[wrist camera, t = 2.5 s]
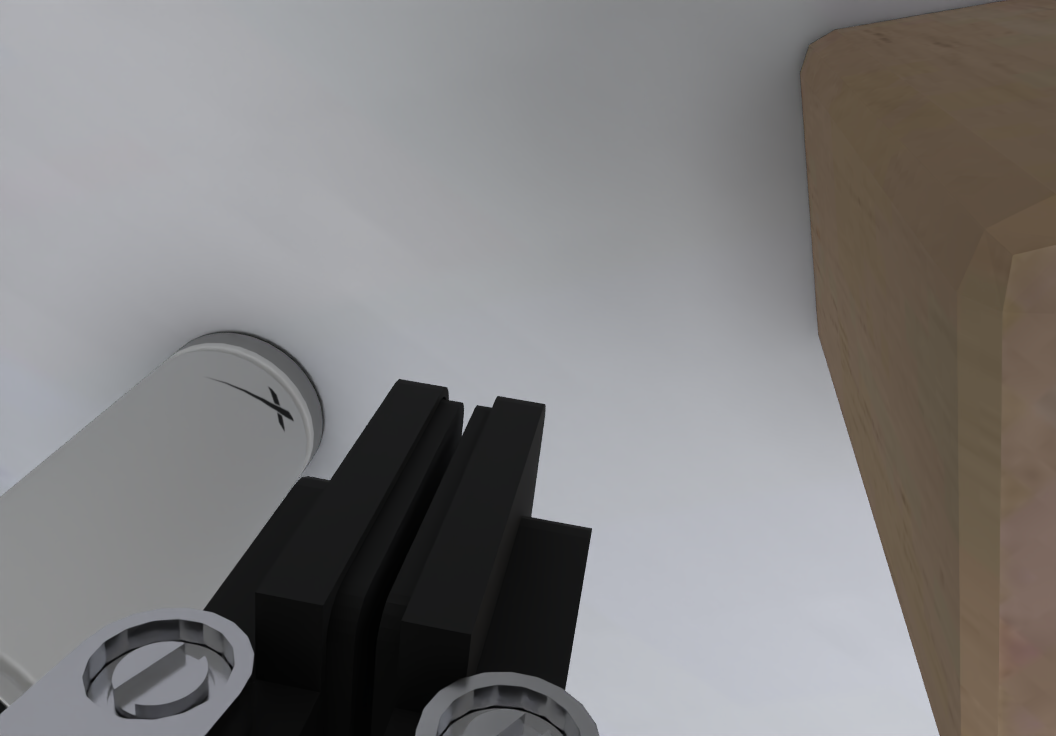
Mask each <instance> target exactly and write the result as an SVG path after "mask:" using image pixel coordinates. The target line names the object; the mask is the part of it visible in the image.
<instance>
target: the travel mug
mask: <svg viewBox="0 0 1056 736" xmlns="http://www.w3.org/2000/svg"><path fill="white" fill-rule="evenodd" d="M322 427H323V418H322V412H321V405H320V403H319V400H318V397H317V394H316V392H315V390H314V388H313V386H312V384H311V383H310V381H309V379H308V378H307V376H306V375H305V373H304V372H303V371H302V370H301V369H300V368H299V366H298V365H297V364H296V363H295V362H294V361H293V360H292V359H290V358H289V357H288V356H287V355H286V354H285V353H283V352H282V351H280V350H279V349H277V348H275V347H274V346H272V345H270V344H269V343H267V342H264V341H262V340H259V339H256V338H254V337H251V336H247V335H242V334H237V333H215V334H210V335H204V336H202V337H199V338H197V339H195V340H192V341H190V342H189V343H187V344H186V345H185V346H183V347H182V348H181V349H179V350H178V351H177V352H176V353H174V354H173V355H172V356H171V357H169V358H168V359H167V360H166V361H165V362H163V363H162V365H160V366H159V367H158V368H156V369H155V370H154V371H152V372H151V373H150V374H149V375H148V376H146V377H145V378H144V379H143V380H142V381H140V382H139V383H138V384H137V385H135V386H134V387H133V388H132V389H131V390H129V391H128V392H127V393H126V394H125V395H123V396H122V397H121V398H120V399H118V400H117V401H116V402H115V403H114V404H112V405H111V406H110V407H109V408H108V409H106V410H105V411H104V412H103V413H101V414H100V415H99V416H98V417H97V418H95V419H94V420H93V421H92V422H91V423H89V424H88V425H87V426H86V427H84V428H83V429H82V430H81V431H80V432H78V433H77V434H76V435H75V436H73V437H72V438H71V439H70V440H69V441H67V442H66V443H65V444H64V445H63V446H61V447H60V448H59V449H58V450H56V451H55V452H54V453H53V454H52V455H50V456H49V457H48V458H47V459H46V460H44V461H43V462H42V463H41V464H39V465H38V466H37V467H36V468H35V469H33V470H32V471H31V472H30V473H29V474H27V475H26V476H25V477H24V478H22V479H21V480H20V481H19V482H18V483H16V484H15V485H14V486H13V487H12V488H10V489H9V490H8V491H7V492H5V493H4V494H3V495H2V496H1V497H0V714H1V713H2V712H3V711H4V710H5V709H7V708H8V707H9V706H10V705H11V704H12V703H13V702H15V701H16V700H17V699H18V698H19V697H20V696H21V695H22V694H24V693H25V692H26V691H27V690H28V689H29V688H30V687H32V686H33V685H34V684H35V683H36V682H37V681H38V680H40V679H41V678H42V677H43V676H44V675H45V674H46V673H48V672H49V671H50V670H51V669H52V668H53V667H54V666H55V665H57V664H58V663H59V662H60V661H61V660H62V659H63V658H65V657H66V656H67V655H68V654H69V653H70V652H71V651H73V650H74V649H75V648H76V647H77V646H78V645H79V644H80V643H82V642H83V641H84V640H85V639H87V638H88V637H90V636H91V635H93V634H94V633H95V632H97V631H98V630H100V629H101V628H103V627H104V626H106V625H108V624H110V623H112V622H115V621H117V620H120V619H122V618H125V617H127V616H129V615H132V614H136V613H140V612H145V611H150V610H155V609H160V608H192V609H197V610H203V609H204V608H205V607H206V605H207V604H208V602H209V601H210V600H211V598H212V597H213V596H214V594H215V593H216V592H217V590H218V589H219V587H220V586H221V585H222V583H223V582H224V581H225V579H226V578H227V577H228V575H229V574H230V572H231V571H232V570H233V568H234V567H235V566H236V564H237V563H238V561H239V560H240V559H241V557H242V556H243V555H244V553H245V552H246V550H247V549H248V548H249V546H250V545H251V544H252V542H253V541H254V539H255V538H256V537H257V535H258V534H259V532H260V531H261V530H262V528H263V527H264V525H265V524H266V523H267V521H268V520H269V518H270V517H271V516H272V514H273V513H274V511H275V510H276V509H277V507H278V506H279V504H280V503H281V502H282V500H283V499H284V497H285V496H286V495H287V493H288V492H289V490H290V489H291V488H292V486H293V485H294V484H295V482H296V480H297V479H298V477H299V476H300V475H301V474H302V472H303V471H304V470H305V468H306V467H307V465H308V464H309V463H310V461H311V460H312V458H313V456H314V455H315V453H316V451H317V449H318V447H319V444H320V440H321V437H322Z"/></svg>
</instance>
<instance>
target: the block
mask: <svg viewBox="0 0 1056 736" xmlns="http://www.w3.org/2000/svg"><path fill="white" fill-rule="evenodd" d="M800 79H801V93H802V108H803V122H804V136H805V151H806V165H807V179H808V193H809V208H810V222H811V236H812V251H813V265H814V279H815V294H816V308H817V322H818V335H819V338H820V341H821V345H822V348H823V351H824V355H825V358H826V361H827V365H828V368H829V371H830V375H831V378H832V381H833V384H834V388H835V391H836V394H837V398H838V401H839V404H840V408H841V411H842V414H843V418H844V421H845V424H846V427H847V431H848V434H849V437H850V441H851V444H852V447H853V451H854V454H855V457H856V460H857V464H858V467H859V470H860V474H861V477H862V480H863V484H864V487H865V490H866V494H867V497H868V500H869V503H870V507H871V510H872V513H873V517H874V520H875V523H876V527H877V530H878V533H879V537H880V540H881V543H882V546H883V550H884V553H885V556H886V560H887V563H888V566H889V570H890V573H891V576H892V579H893V583H894V586H895V589H896V593H897V596H898V599H899V603H900V606H901V609H902V613H903V616H904V619H905V622H906V626H907V629H908V632H909V636H910V639H911V642H912V646H913V649H914V652H915V655H916V659H917V662H918V665H919V669H920V672H921V675H922V679H923V682H924V685H925V689H926V692H927V695H928V698H929V702H930V705H931V708H932V712H933V715H934V718H935V722H936V725H937V728H938V732H939V735H940V736H1056V0H1006V1H1000V2H994V3H988V4H982V5H976V6H970V7H965V8H959V9H953V10H947V11H941V12H935V13H930V14H924V15H918V16H912V17H906V18H900V19H894V20H889V21H883V22H877V23H871V24H865V25H859V26H854V27H848V28H842V29H836V30H834V31H832V32H830V33H829V34H827V35H825V36H824V37H822V38H820V39H819V40H817V41H815V42H814V43H812V44H810V45H809V47H808V50H807V53H806V56H805V59H804V63H803V66H802V69H801V72H800Z"/></svg>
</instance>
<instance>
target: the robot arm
mask: <svg viewBox="0 0 1056 736" xmlns="http://www.w3.org/2000/svg"><path fill="white" fill-rule="evenodd" d="M463 417H464V405H463V403H461V402H455V401H449V394H448V389H447V387H442V386H436V385H430V384H425V383H419V382H413V381H407V380H402V379H399V380H398V381H397V382H396V383H395V384H394V386H393V387H392V389H391V390H390V392H389V393H388V395H387V396H386V398H385V399H384V401H383V402H382V404H381V405H380V407H379V408H378V410H377V411H376V413H375V414H374V416H373V417H372V419H371V420H370V422H369V423H368V425H367V426H366V428H365V429H364V430H363V432H362V433H361V435H360V436H359V438H358V439H357V441H356V442H355V444H354V445H353V447H352V448H351V450H350V451H349V453H348V454H347V456H346V457H345V459H344V460H343V462H342V463H341V465H340V466H339V468H338V469H337V471H336V472H335V474H334V475H333V477H332V478H331V480H325V479H320V478H314V477H309V476H307V477H302V478H301V479H300V480H299V481H298V482H297V483H296V484H295V485H294V486H293V488H292V489H291V490H290V492H289V493H288V495H287V496H286V497H285V499H284V500H283V501H282V503H281V504H280V505H279V507H278V508H277V510H276V511H275V512H274V514H273V515H272V516H271V518H270V519H269V520H268V522H267V523H266V525H265V526H264V527H263V529H262V530H261V531H260V533H259V534H258V536H257V537H256V538H255V540H254V541H253V542H252V544H251V545H250V546H249V548H248V549H247V551H246V552H245V553H244V555H243V556H242V557H241V559H240V560H239V561H238V563H237V564H236V566H235V567H234V568H233V570H232V571H231V572H230V574H229V575H228V577H227V578H226V579H225V581H224V582H223V583H222V585H221V586H220V587H219V589H218V590H217V592H216V593H215V594H214V596H213V597H212V598H211V600H210V601H209V602H208V604H207V605H206V607H205V608H204V609H203V610H197V609H192V608H160V609H155V610H150V611H145V612H140V613H136V614H132V615H129V616H127V617H125V618H122V619H120V620H117V621H115V622H112V623H110V624H108V625H106V626H104V627H103V628H101V629H100V630H98V631H97V632H95V633H94V634H93V635H91V636H90V637H88V638H87V639H85V640H84V641H83V642H82V643H80V644H79V645H78V646H77V647H76V648H75V649H74V650H73V651H71V652H70V653H69V654H68V655H67V656H66V657H65V658H63V659H62V660H61V661H60V662H59V663H58V664H57V665H55V666H54V667H53V668H52V669H51V670H50V671H49V672H48V673H46V674H45V675H44V676H43V677H42V678H41V679H40V680H38V681H37V682H36V683H35V684H34V685H33V686H32V687H30V688H29V689H28V690H27V691H26V692H25V693H24V694H22V695H21V696H20V697H19V698H18V699H17V700H16V701H15V702H13V703H12V704H11V705H10V706H9V707H8V708H7V709H5V710H4V711H3V712H2V713H1V714H0V736H599V733H598V729H597V726H596V723H595V722H594V720H593V719H592V718H591V716H590V715H589V713H588V712H587V711H586V709H585V708H584V706H583V705H582V704H581V703H580V702H579V701H577V700H576V699H575V698H574V697H572V696H571V695H570V694H569V693H567V692H566V691H565V687H566V681H567V675H568V669H569V664H570V658H571V652H572V646H573V640H574V634H575V628H576V622H577V616H578V610H579V604H580V598H581V592H582V586H583V580H584V574H585V568H586V562H587V556H588V550H589V544H590V538H591V532H592V528H586V527H581V526H575V525H570V524H564V523H559V522H554V521H548V520H543V519H537V518H532V517H531V514H532V507H533V499H534V492H535V485H536V478H537V470H538V463H539V456H540V448H541V441H542V434H543V427H544V419H545V404H541V403H535V402H529V401H523V400H517V399H512V398H506V397H500V396H497V398H496V400H495V402H494V404H493V407H492V408H490V407H484V406H478V405H477V406H476V407H475V409H474V412H473V414H472V416H471V418H470V420H469V422H468V424H467V427H466V429H465V431H464V433H463V435H462V427H463Z"/></svg>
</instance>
